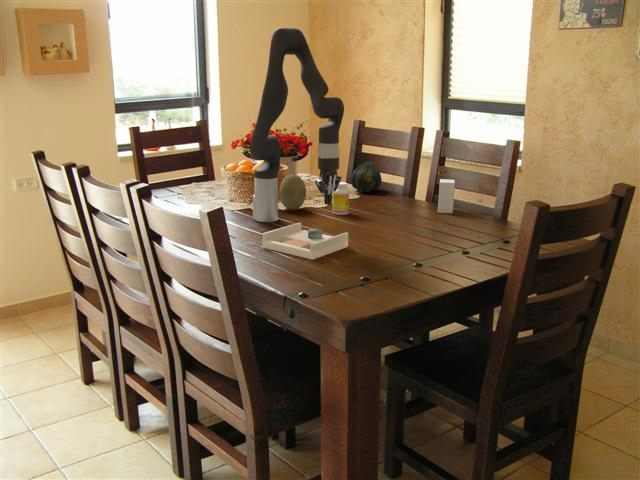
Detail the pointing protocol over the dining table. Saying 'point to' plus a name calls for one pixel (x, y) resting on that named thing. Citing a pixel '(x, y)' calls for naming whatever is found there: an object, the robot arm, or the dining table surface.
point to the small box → (446, 196)
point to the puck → (314, 233)
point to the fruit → (292, 192)
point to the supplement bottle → (341, 200)
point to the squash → (366, 177)
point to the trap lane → (302, 242)
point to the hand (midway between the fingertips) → (328, 204)
